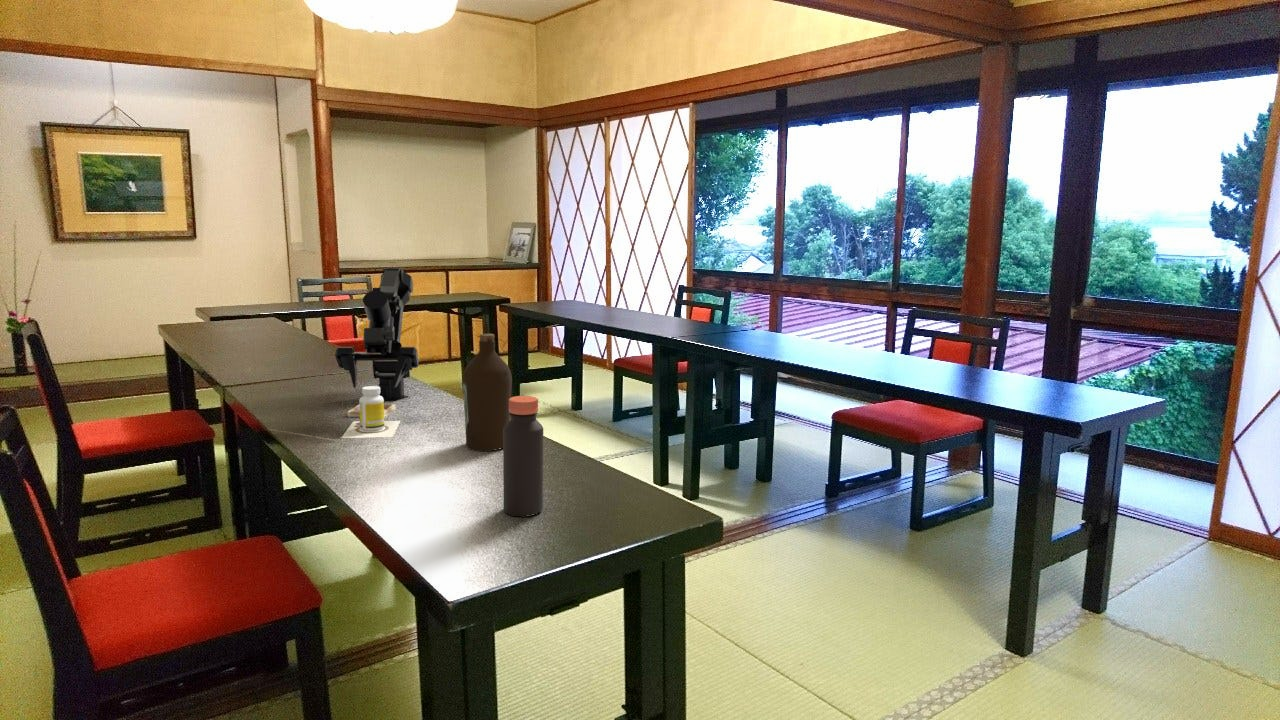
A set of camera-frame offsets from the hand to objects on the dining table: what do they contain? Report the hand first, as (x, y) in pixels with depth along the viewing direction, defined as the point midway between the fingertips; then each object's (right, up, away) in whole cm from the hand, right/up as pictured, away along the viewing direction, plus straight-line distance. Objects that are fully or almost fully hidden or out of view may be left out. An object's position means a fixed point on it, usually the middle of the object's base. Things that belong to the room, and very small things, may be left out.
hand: (374, 386), depth 179 cm
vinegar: (+43, -20, -48) cm, 68 cm away
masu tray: (-5, -7, +11) cm, 14 cm away
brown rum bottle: (+29, -13, -12) cm, 34 cm away
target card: (+1, -10, -3) cm, 11 cm away
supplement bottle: (+1, -10, -3) cm, 10 cm away
